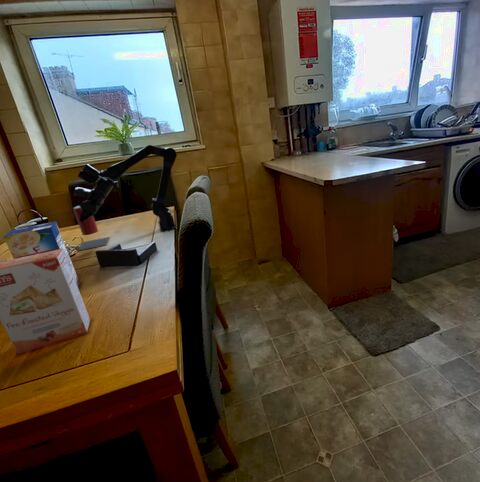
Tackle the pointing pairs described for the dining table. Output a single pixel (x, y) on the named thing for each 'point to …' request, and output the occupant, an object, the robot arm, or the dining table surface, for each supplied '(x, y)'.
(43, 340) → the cracker box
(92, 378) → the dining table surface
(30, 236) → the blue white cardboard box
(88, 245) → the mat
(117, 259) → the compartment
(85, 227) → the can
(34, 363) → the dining table surface
